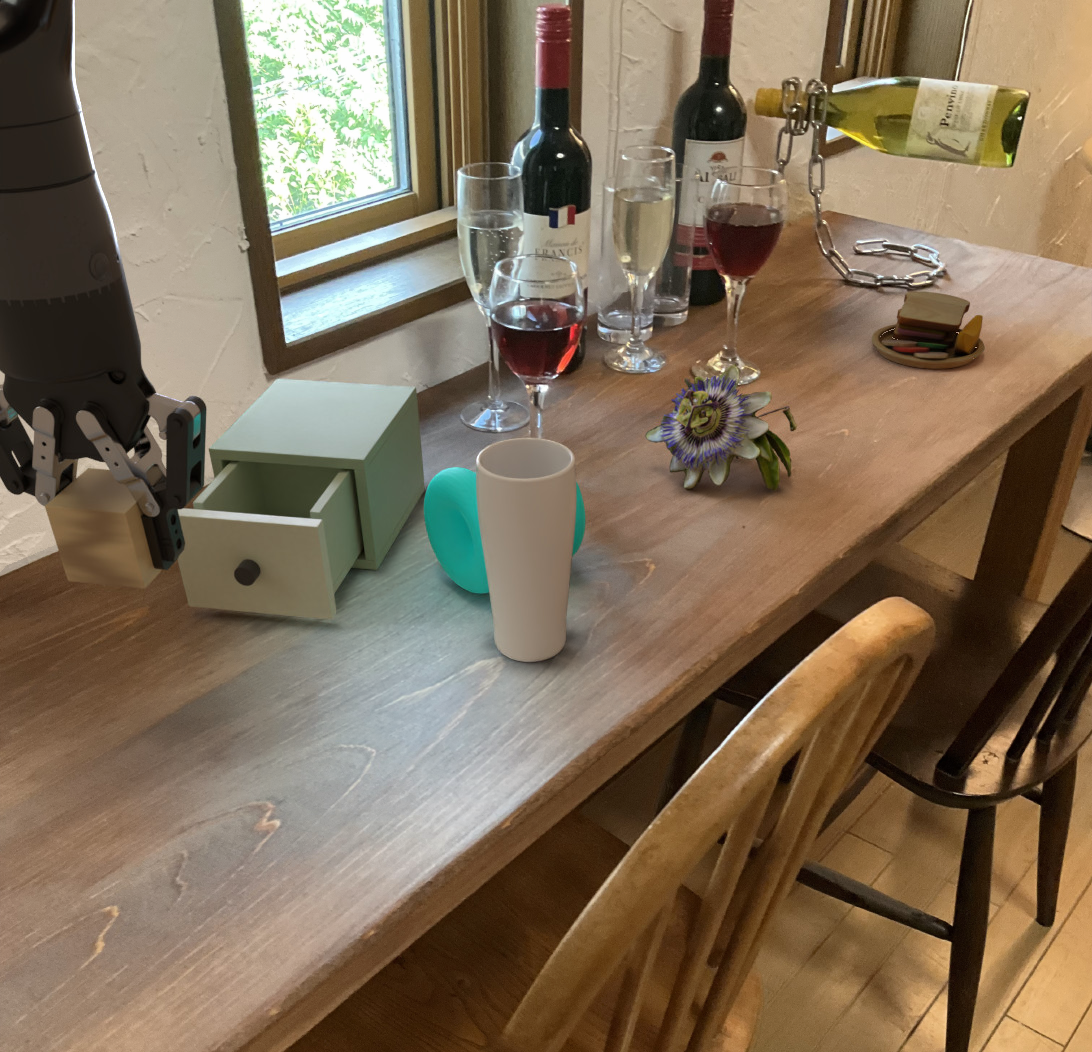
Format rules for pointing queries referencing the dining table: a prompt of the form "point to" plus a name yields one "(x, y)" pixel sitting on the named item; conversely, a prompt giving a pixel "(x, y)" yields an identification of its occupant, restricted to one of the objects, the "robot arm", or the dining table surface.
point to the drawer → (271, 539)
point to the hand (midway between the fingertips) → (124, 557)
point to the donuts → (467, 527)
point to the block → (101, 532)
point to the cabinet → (339, 446)
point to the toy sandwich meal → (931, 333)
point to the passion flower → (721, 431)
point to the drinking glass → (527, 542)
